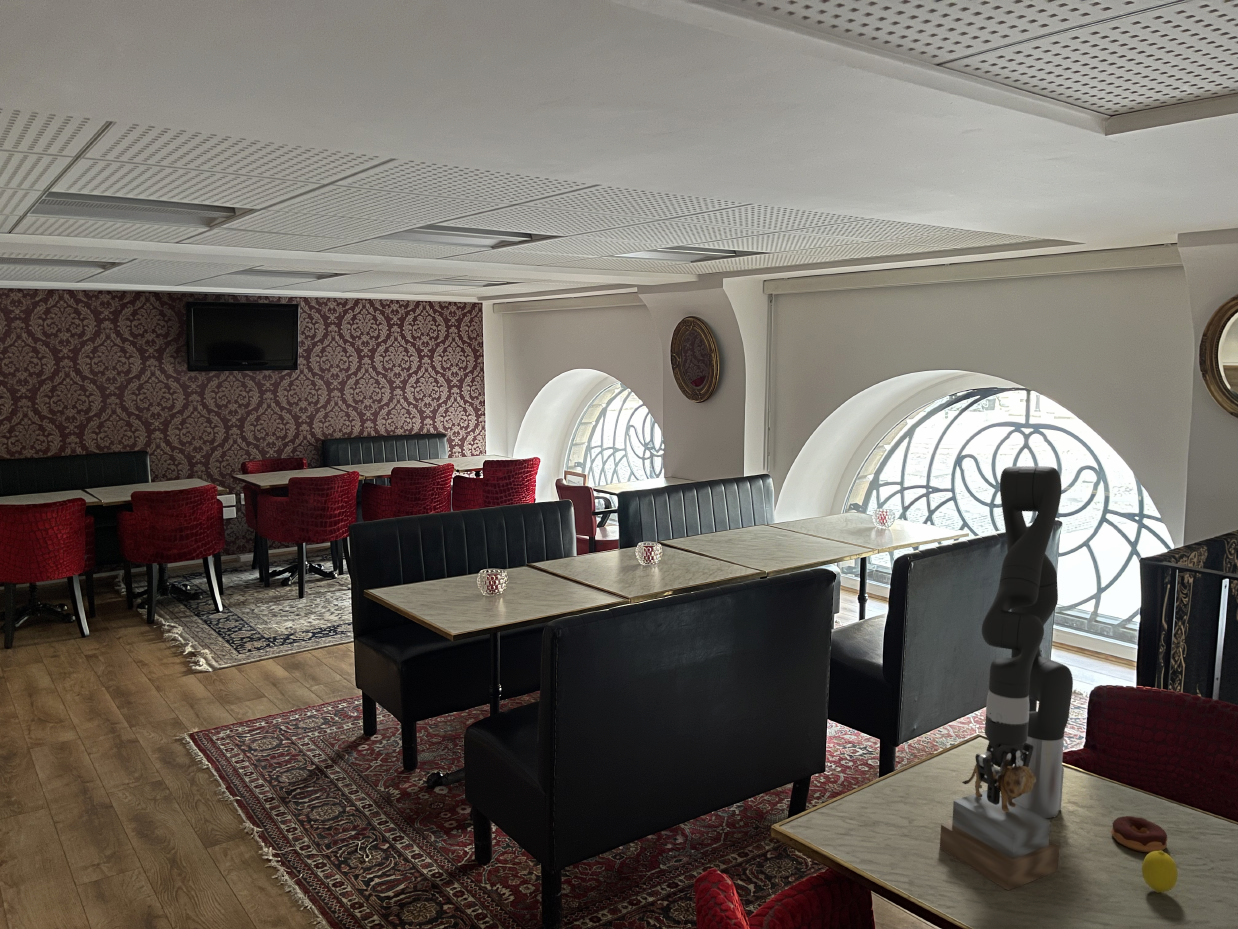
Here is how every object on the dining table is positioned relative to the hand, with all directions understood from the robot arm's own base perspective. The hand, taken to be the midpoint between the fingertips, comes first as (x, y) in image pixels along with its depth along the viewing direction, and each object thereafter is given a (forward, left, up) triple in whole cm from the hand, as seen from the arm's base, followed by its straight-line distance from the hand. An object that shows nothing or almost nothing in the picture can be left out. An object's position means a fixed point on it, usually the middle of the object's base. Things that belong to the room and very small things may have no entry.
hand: (1001, 799), depth 174 cm
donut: (-31, +9, -13) cm, 34 cm away
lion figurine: (0, -1, -1) cm, 2 cm away
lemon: (-17, +21, -12) cm, 30 cm away
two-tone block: (0, 0, -12) cm, 12 cm away
